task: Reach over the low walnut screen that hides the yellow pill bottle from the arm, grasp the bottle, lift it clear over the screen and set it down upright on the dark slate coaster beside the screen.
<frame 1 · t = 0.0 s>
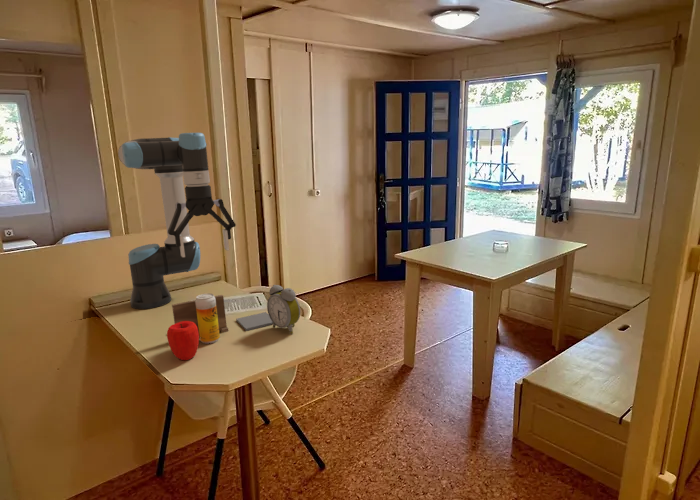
hand: (205, 253, 143), 28 cm above the table, fingers open, 13 cm apart
apple: (186, 357, 135), on the table
screen: (202, 334, 151), on the table
yellow pill bottle: (210, 341, 146), on the table
coaster: (256, 322, 159), on the table
alarm clock: (286, 329, 152), on the table
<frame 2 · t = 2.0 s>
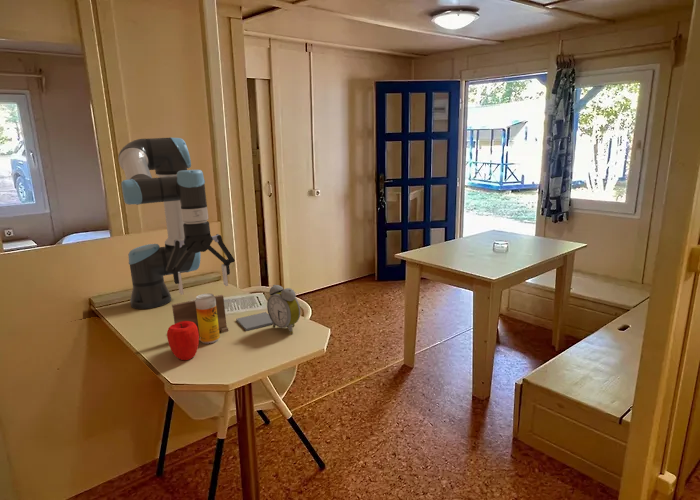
hand: (204, 289, 141), 17 cm above the table, fingers open, 13 cm apart
nothing on the table moved.
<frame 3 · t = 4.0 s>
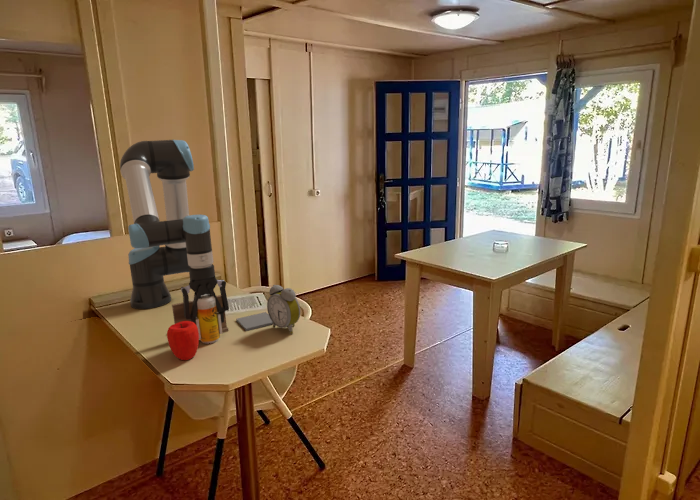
hand: (209, 334, 145), 2 cm above the table, fingers closed on yellow pill bottle, 6 cm apart
yellow pill bottle: (210, 340, 146), on the table, touching gripper
everything else where it was.
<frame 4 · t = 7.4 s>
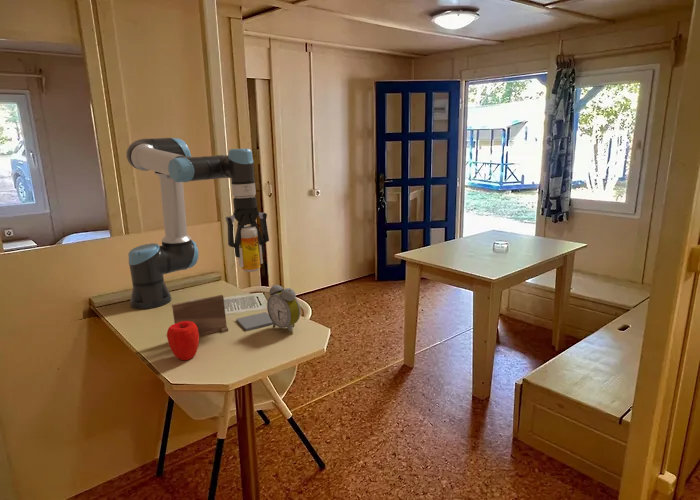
hand: (251, 264, 154), 21 cm above the table, fingers closed on yellow pill bottle, 6 cm apart
yellow pill bottle: (251, 270, 155), point 19 cm above the table, touching gripper
everything else where it was.
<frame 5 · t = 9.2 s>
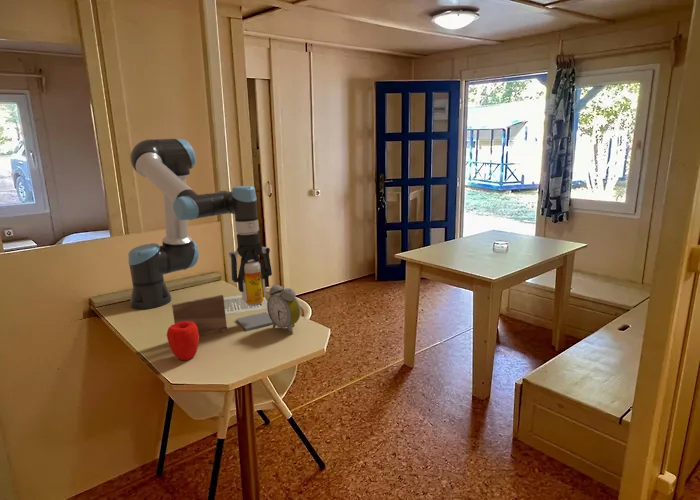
hand: (254, 298, 157), 9 cm above the table, fingers closed on yellow pill bottle, 6 cm apart
yellow pill bottle: (254, 303, 157), point 7 cm above the table, touching gripper
everything else where it was.
when the fingers open (4 cm above the table, at t = 10.7 s): yellow pill bottle stays where it is, resting on coaster.
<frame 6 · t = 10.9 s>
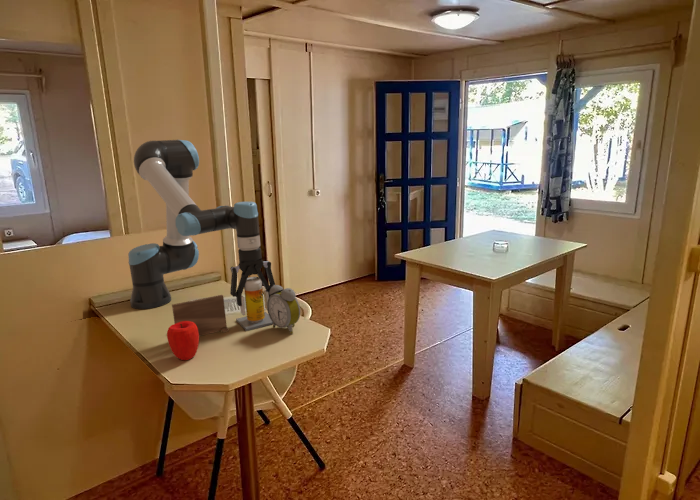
hand: (255, 311, 158), 4 cm above the table, fingers open, 8 cm apart
yellow pill bottle: (256, 320, 159), point 1 cm above the table, touching coaster
everything else where it was.
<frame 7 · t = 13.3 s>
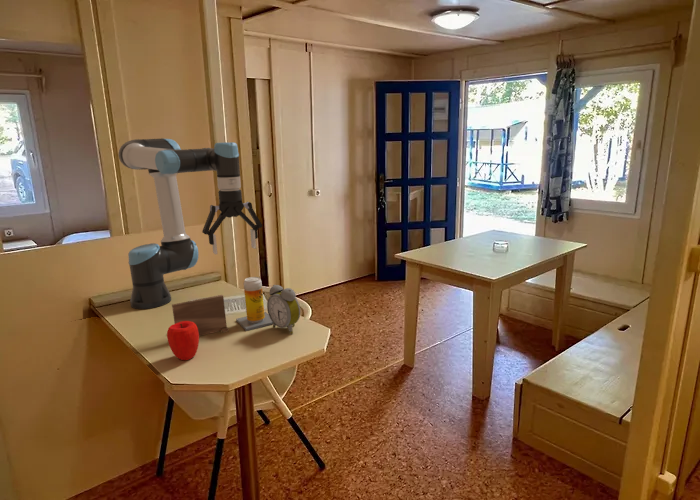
hand: (235, 250, 158), 25 cm above the table, fingers open, 13 cm apart
nothing on the table moved.
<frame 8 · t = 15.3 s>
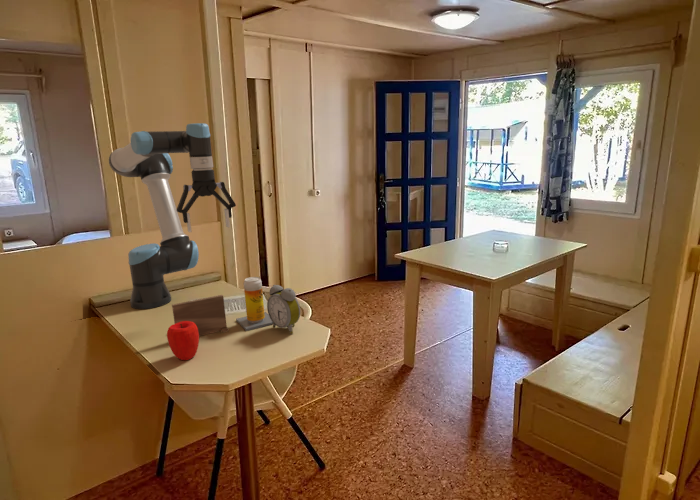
hand: (209, 229, 163), 32 cm above the table, fingers open, 13 cm apart
nothing on the table moved.
at the end: yellow pill bottle inside the target area on the coaster (0.0 cm from its centre), point 0.6 cm above the coaster's base; yellow pill bottle tilted 0°; the gripper is holding nothing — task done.
